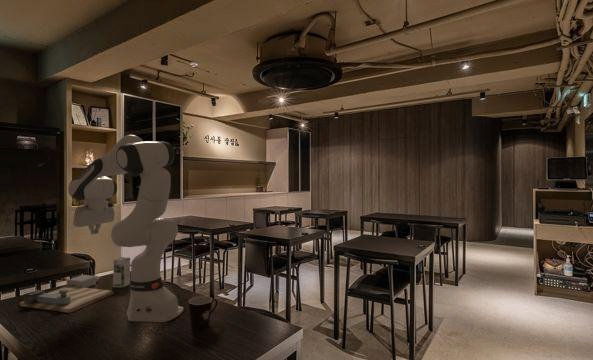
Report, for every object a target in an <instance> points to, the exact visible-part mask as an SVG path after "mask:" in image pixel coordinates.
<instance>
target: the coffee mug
mask: <svg viewBox="0 0 593 360" xmlns="http://www.w3.org/2000/svg"><path fill="white" fill-rule="evenodd" d="M213 301H214V302H215V305H214V307H213V308H212V304H213ZM217 305H218V300H217V299H216V298H212V297H210V296H206V295H205V296H204V295H203V296H196V297H195V296H194V297H192V298H191V299H189V300H188V308H189V309H188V310H189V317H190V325H191V326H190V328H191V330H192V331H196V332H198V331H204V330H207V329H208V328H209V327H210V320H211V315H212V313H213V312H214V311H215V309H216V308H217Z"/></svg>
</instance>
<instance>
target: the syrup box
mask: <svg viewBox="0 0 593 360" xmlns="http://www.w3.org/2000/svg"><path fill="white" fill-rule="evenodd" d="M112 271H113V272H112V273H113V276H112V277H113V278H112V279H113V280H112V282H113V283H112V287H113V288H119V289H120V288H121V289H123V288H126V287H127V286H130V285H129V284H130V279H131V256H128V257H127V256H119V257H118V256H117V257H115V258H113V270H112Z"/></svg>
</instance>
